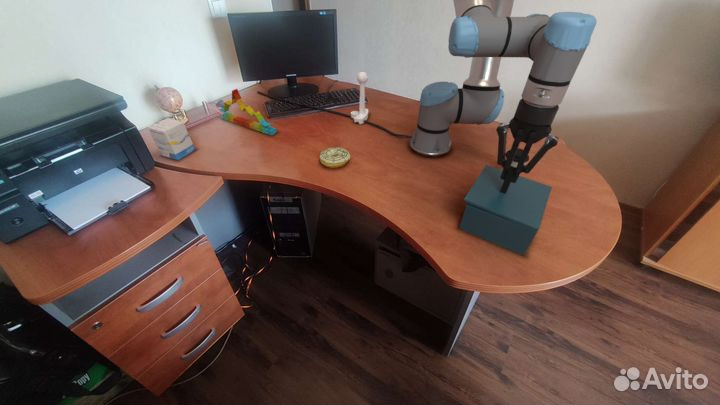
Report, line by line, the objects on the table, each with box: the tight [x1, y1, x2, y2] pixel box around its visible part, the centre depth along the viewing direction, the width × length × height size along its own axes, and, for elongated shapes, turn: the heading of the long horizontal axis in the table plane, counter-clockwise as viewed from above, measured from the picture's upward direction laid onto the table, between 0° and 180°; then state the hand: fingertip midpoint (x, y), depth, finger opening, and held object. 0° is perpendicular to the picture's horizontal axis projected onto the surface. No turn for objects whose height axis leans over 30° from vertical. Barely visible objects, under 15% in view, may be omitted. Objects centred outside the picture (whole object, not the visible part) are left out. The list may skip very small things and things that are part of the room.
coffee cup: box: [505, 147, 530, 167], centre depth 94 cm, size 7×7×10 cm
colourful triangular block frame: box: [219, 88, 277, 136], centre depth 123 cm, size 30×3×15 cm, turn 58°
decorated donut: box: [319, 146, 351, 169], centre depth 105 cm, size 10×11×4 cm
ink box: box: [147, 117, 196, 161], centre depth 107 cm, size 9×8×12 cm
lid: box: [463, 164, 553, 232], centre depth 77 cm, size 18×19×1 cm
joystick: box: [350, 71, 369, 125], centre depth 126 cm, size 11×8×20 cm
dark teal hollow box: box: [458, 202, 538, 256], centre depth 80 cm, size 17×19×9 cm
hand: (504, 189), depth 77 cm, fingers closed
